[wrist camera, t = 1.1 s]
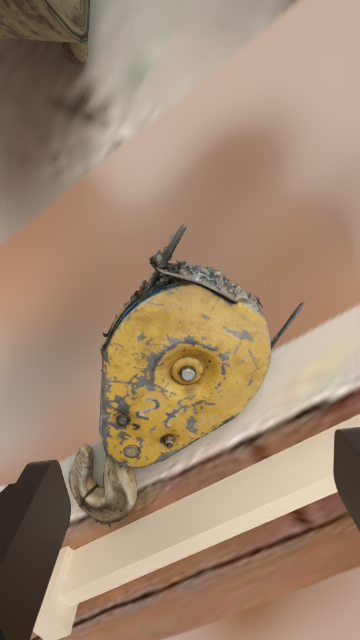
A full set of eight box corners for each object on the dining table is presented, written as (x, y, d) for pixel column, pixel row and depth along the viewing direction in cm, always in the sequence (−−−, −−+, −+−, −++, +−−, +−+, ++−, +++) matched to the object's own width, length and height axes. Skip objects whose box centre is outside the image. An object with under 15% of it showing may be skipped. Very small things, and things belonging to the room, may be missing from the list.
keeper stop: (441, 365, 31) (510, 410, 24) (455, 396, 32) (525, 448, 25) (49, 554, 41) (22, 623, 34) (70, 573, 42) (48, 643, 35)
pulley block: (1, 518, 30) (176, 224, 21) (22, 465, 35) (168, 213, 26) (139, 553, 34) (333, 323, 25) (139, 502, 40) (299, 296, 31)
